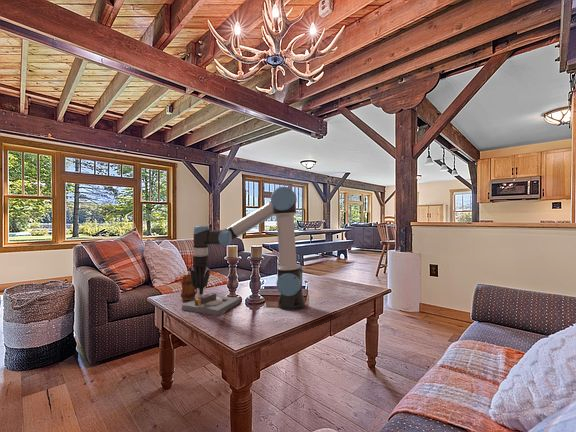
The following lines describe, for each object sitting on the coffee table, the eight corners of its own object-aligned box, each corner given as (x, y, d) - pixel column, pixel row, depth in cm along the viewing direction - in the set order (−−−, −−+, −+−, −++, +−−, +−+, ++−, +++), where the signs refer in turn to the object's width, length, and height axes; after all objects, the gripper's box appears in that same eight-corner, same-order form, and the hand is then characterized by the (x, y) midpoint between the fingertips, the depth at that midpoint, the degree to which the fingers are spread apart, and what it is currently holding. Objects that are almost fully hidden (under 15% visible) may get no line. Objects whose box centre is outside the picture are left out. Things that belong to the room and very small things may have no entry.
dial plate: (239, 302, 165) (240, 297, 165) (217, 315, 144) (217, 309, 144) (207, 298, 173) (207, 293, 173) (181, 309, 152) (182, 304, 152)
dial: (211, 299, 166) (211, 290, 166) (226, 302, 161) (226, 293, 161) (188, 308, 150) (188, 298, 150) (204, 312, 145) (204, 301, 145)
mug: (185, 302, 164) (185, 276, 163) (176, 300, 168) (177, 274, 168) (206, 297, 175) (206, 272, 175) (198, 294, 180) (198, 270, 180)
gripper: (215, 255, 153) (213, 299, 153) (195, 253, 158) (193, 296, 158) (206, 257, 146) (205, 303, 146) (185, 255, 151) (184, 300, 151)
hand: (199, 300), depth 152 cm, fingers closed
